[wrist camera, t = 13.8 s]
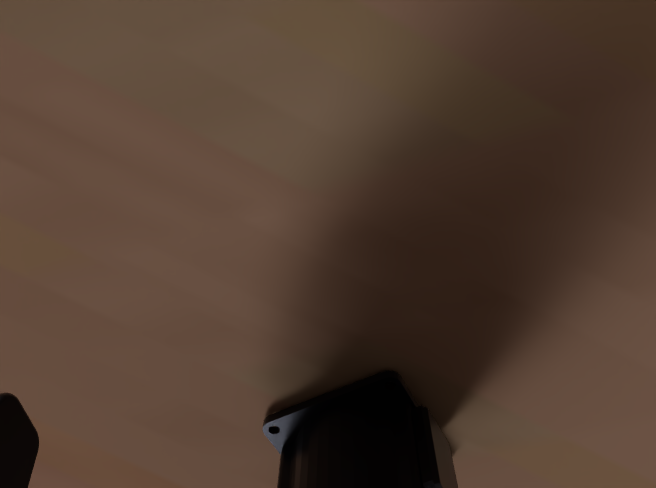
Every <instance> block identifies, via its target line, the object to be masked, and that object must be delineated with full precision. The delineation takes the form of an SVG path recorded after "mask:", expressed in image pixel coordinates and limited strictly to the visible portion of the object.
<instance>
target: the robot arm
mask: <svg viewBox="0 0 656 488" xmlns="http://www.w3.org/2000/svg"><path fill="white" fill-rule="evenodd" d="M387 382H394V383H393V384H389V385H388V384H385V383H387ZM272 426H277V427H272ZM263 432H264V434H265V435H266V437H267V438H268V439H269V440H270V442H271V443H272V444H273V445H274V447H275V448H276V449H277V451H278V452H279V453H280V454H281V458H280V467H279V476H278V485H277V488H458V484H457V480H456V475H455V470H454V465H453V460H452V455H451V450H450V445H449V443H448V441H447V439H446V438H445V436H444V434H443V433H442V431H441V429H440V428H439V426H438V424H437V423H436V421H435V419H434V418H433V416H432V414H431V413H430V411H429V409H428V408H426V407H424V406H422V405H421V406H418V404H417V403H416V401H415V399H414V398H413V396H412V395H411V393H410V391H409V390H408V388H407V386H406V385H405V383H404V381H403V380H402V378H401V376H400V375H399V374H398V373H397V372H394V371H384V372H382V373H379V374H376V375H374V376H371V377H369V378H366V379H363V380H361V381H358V382H356V383H353V384H350V385H348V386H345V387H342V388H340V389H337V390H335V391H332V392H329V393H327V394H324V395H322V396H319V397H316V398H314V399H311V400H309V401H306V402H303V403H301V404H298V405H296V406H293V407H290V408H288V409H285V410H283V411H280V412H277V413H275V414H272V415H270V416H268V417H266V418H265V420H264V424H263ZM38 448H39V437H38V433H37V431H36V429H35V427H34V425H33V424H32V422H31V420H30V419H29V417H28V415H27V413H26V412H25V410H24V408H23V407H22V405H21V403H20V401H19V400H18V398H17V397H16V396H14V395H13V394H11V393H1V394H0V488H28V485H29V481H30V478H31V474H32V470H33V467H34V463H35V460H36V456H37V453H38Z"/></svg>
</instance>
